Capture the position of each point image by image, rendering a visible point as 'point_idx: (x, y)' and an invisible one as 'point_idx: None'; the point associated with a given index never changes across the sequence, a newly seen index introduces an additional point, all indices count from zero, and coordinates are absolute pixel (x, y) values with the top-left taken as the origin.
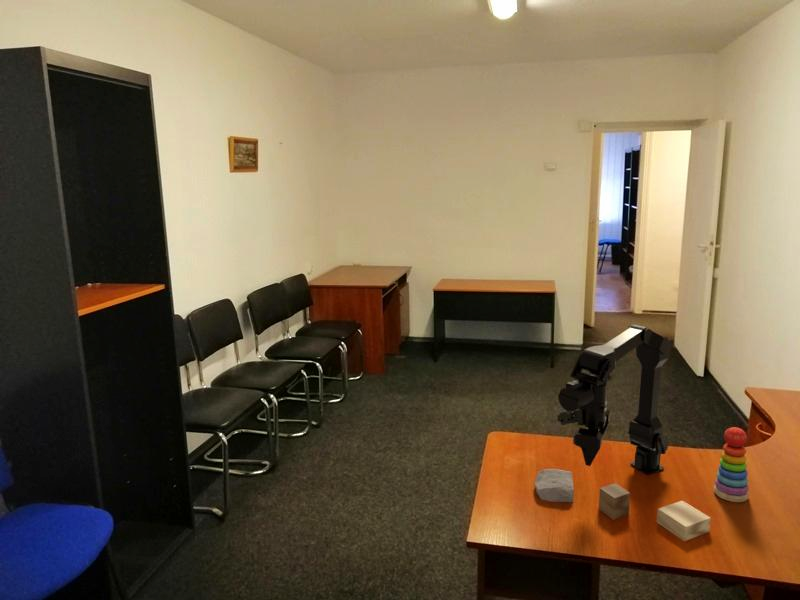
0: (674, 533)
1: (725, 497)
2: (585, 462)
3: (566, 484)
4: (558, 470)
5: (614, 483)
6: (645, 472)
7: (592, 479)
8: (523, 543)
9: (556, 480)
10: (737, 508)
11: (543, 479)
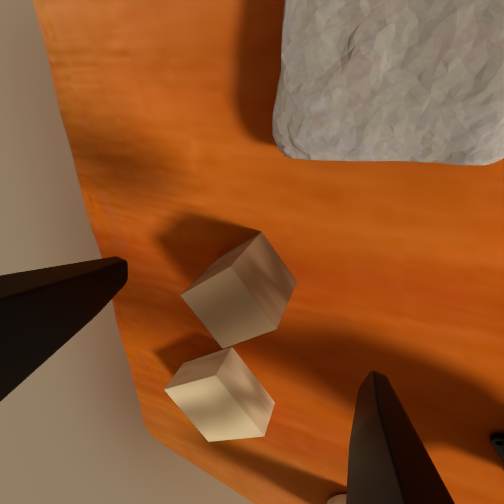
0: (197, 359)
1: (333, 501)
2: (92, 262)
3: (304, 123)
4: None
5: (274, 326)
6: (500, 436)
7: (479, 255)
8: None
9: (363, 64)
10: (309, 490)
11: None
